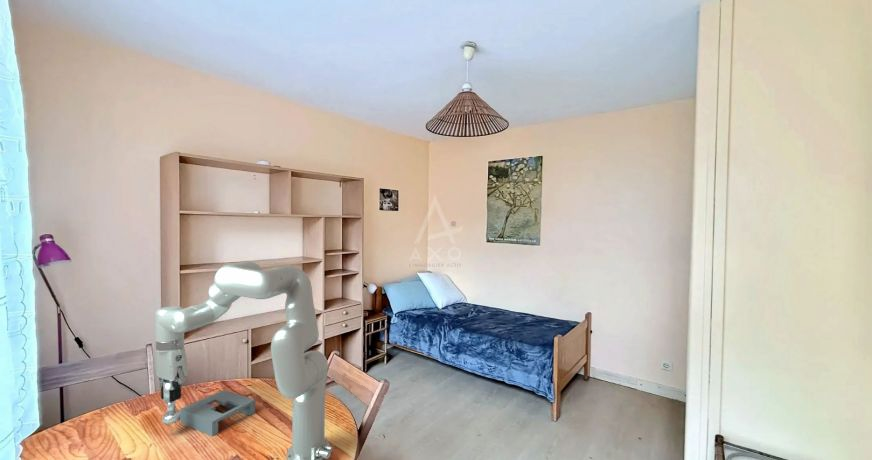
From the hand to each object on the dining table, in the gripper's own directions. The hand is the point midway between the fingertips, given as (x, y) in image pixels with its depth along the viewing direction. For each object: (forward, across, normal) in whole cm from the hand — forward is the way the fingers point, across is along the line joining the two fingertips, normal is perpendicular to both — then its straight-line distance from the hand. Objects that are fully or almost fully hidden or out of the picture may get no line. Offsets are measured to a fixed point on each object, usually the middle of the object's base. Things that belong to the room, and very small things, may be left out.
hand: (171, 398), depth 115 cm
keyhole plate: (+13, -3, -14) cm, 19 cm away
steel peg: (+7, 0, 0) cm, 7 cm away
